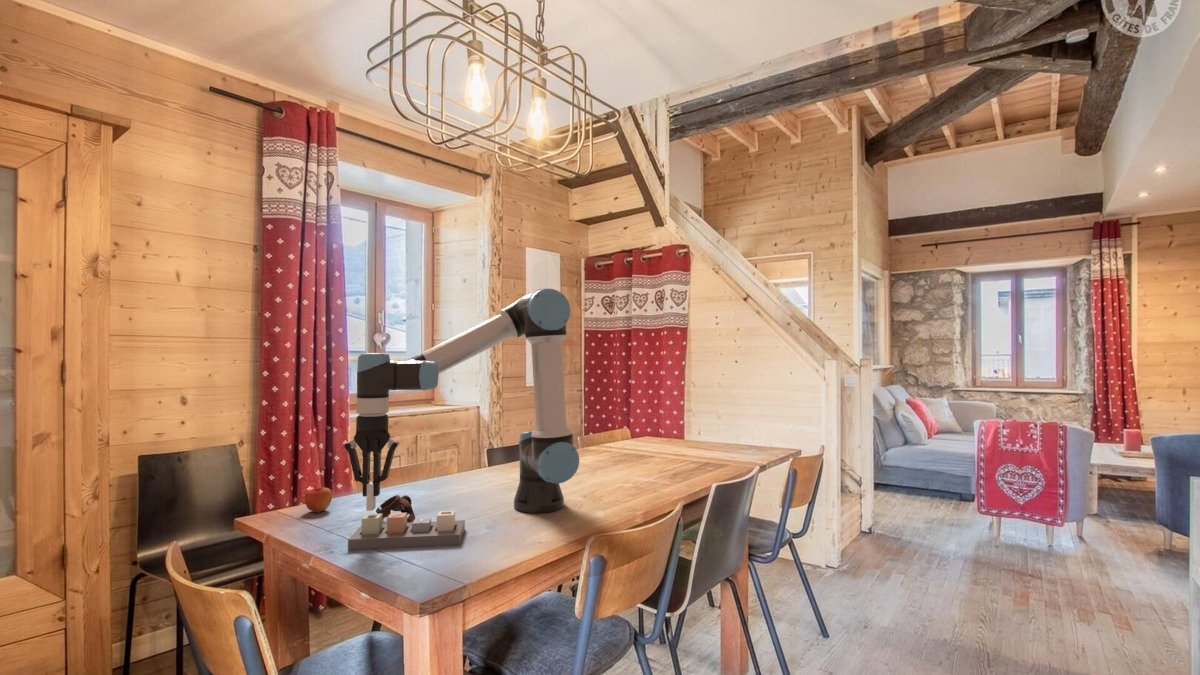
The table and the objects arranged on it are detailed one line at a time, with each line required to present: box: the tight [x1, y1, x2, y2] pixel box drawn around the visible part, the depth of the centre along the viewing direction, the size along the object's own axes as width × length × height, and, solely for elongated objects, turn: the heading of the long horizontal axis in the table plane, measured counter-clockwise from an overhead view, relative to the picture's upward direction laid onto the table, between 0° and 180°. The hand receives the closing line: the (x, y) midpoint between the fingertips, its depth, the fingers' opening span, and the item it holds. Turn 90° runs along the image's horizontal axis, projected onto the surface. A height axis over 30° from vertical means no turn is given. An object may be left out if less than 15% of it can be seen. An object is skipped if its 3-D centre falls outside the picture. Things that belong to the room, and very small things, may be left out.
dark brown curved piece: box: [375, 494, 417, 523], centre depth 161 cm, size 12×10×8 cm
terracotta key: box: [386, 512, 408, 533], centre depth 144 cm, size 4×4×4 cm
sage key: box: [361, 513, 384, 535], centre depth 143 cm, size 4×4×4 cm
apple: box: [304, 485, 333, 514], centre depth 170 cm, size 7×7×8 cm
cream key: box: [436, 510, 456, 531], centre depth 146 cm, size 4×4×4 cm
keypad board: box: [347, 519, 466, 551], centre depth 144 cm, size 26×12×2 cm, turn 97°
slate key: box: [412, 517, 432, 532], centre depth 145 cm, size 4×4×4 cm
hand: (370, 509), depth 143 cm, fingers closed
